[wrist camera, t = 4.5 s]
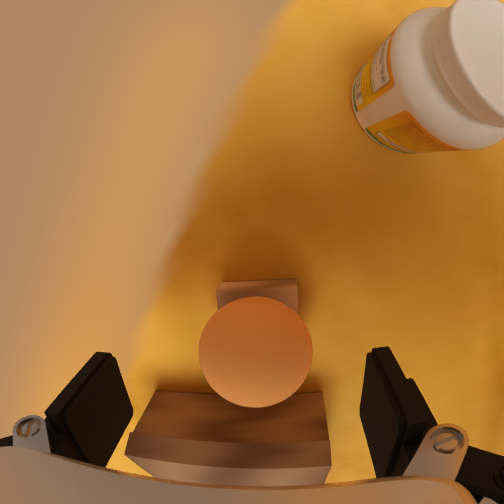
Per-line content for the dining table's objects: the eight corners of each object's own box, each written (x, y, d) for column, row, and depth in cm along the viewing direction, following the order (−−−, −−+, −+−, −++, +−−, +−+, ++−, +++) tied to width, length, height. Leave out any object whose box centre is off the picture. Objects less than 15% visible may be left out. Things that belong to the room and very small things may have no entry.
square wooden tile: (296, 278, 17) (297, 288, 16) (298, 344, 18) (299, 358, 17) (221, 282, 18) (216, 291, 16) (229, 346, 18) (225, 359, 17)
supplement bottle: (331, 77, 14) (385, -19, 5) (412, 48, 13) (506, -30, 4) (378, 170, 15) (486, 176, 6) (455, 135, 14) (581, 122, 5)
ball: (307, 278, 15) (318, 325, 11) (308, 365, 17) (315, 428, 12) (205, 283, 16) (175, 329, 11) (217, 367, 17) (197, 428, 12)
